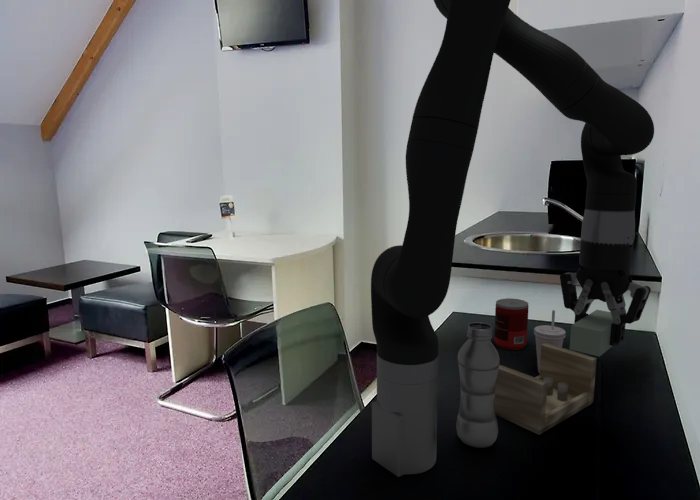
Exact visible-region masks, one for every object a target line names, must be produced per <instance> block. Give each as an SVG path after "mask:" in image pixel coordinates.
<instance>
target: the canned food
mask: <svg viewBox="0 0 700 500" xmlns="http://www.w3.org/2000/svg"><path fill="white" fill-rule="evenodd" d="M494 309H495V313H494V337H493V338H494V340H493V341H494V344H495V345H494V346H496V347H498V348H500V349H502V350H507V351H519V350H522V349H525V348H526V345H527V343H528V342H527V341H528V327H529V326H528V324H529V323H528V322H529V302H528V301H526V300H524V299H520V298H511V297H510V298H508V297H507V298H500V299H497V300H496V301H495V308H494Z"/></svg>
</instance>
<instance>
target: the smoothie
mask: <svg viewBox="0 0 700 500" xmlns="http://www.w3.org/2000/svg"><path fill="white" fill-rule="evenodd" d="M555 314H556V310H554V309H553V310H552V311H551V325H544V324H543V325H538V326H537V325H536V326H535V327H534V329H533V334H534V337H535V346H536V358H537V360H536V361H537V362H536V363H537V372H538V373H539V374H540V359H541V345H542V344H544V343H548V344H551V345H555V346H558V347H561V348H563V343H564V339H565V338H566V333H567V332H566V330H565V329H564V328H562V327H559V326H555V318H556V315H555Z"/></svg>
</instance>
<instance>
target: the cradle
mask: <svg viewBox="0 0 700 500" xmlns="http://www.w3.org/2000/svg"><path fill="white" fill-rule="evenodd" d="M597 359H598V358H597V357H594V356H592V355H591V356H590V355H589V354H585V353H582V352H578V351H574V350H570V349H568V348H564V347H562V348H561V347H558V346H555V345H551V344H548V343H544V344H542V345H541V359H540V373H539V374H538V375H537V376H535V377H534V376H532V375H529V374H527V373H523V372H520V371H519V370H517V369H512V368H510V367H508V366H505V365H502V364H499V370H498V375H497V380H496V390H495V411H496V417H497V416H498V417H500V418H502V419H503V420H507V421H509V422H510V423H512V424H515V425H517V426H519V427H521V428H523V429H526V430H528V431H530V432H531V433H535V434H536V435H538V436H539V435H541V434H543V433H545V432H547V431H548V430H550V429H552V428H553V427H555V426H556V425H558V424H561V422H563V421H565V420H567V419H568V418H570V417H572V416H573V415H575V414H577V413H579V412H581V411H582V410H584V409H586V408H587V407H589V406H591V405H592V404H594V396H595V394H594V393H595V384H596V383H595V382H596V371H597V369H596V368H597Z"/></svg>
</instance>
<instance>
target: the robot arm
mask: <svg viewBox="0 0 700 500" xmlns="http://www.w3.org/2000/svg"><path fill="white" fill-rule="evenodd" d="M433 2H434V4H435V7H436V9H437V10H438V11H439V13H440V14H441V15H442V16H443V17H444V18H445V19H446V23H445V28H444V29H445V30H444V33H443V37H442V41H441V44H440V47H439V50H438V53H437V55H436V57H435V59H434V62H433V63H432V66H431V67H430V70H429V71H428V75H427V76H426V78H425V82H423V83H424V84H423V85H422V88H421V90H420V92H419V94H418V95H419V96H418V98H417V101H416V104H415V107H414V110H413V114H412V119H411V122H410V123H411V124H410V128H409V133H408V138H407V143H406V150H405V173H406V183H407V191H408V193H407V194H408V204H409V205H408V217H407V218H408V219H407V222H406V223H407V224H406V229H405V231H404V232H405V233H404V237H403V241H402V244H400V245H394V246H391V247H388V248H387V249H385V250H384V251H382V252H381V254H379V255H378V257H377V258H376V259H375V262H374V264H373V266H372V270H371V276H370V300H371V301H370V302H371V322H372V323H371V324H372V325H371V326H372V331H373V335H374V339H375V342H376V343H375V344H376V400H374V401H373V402H372V403H371V459H372V460H373V461H374V462H376V463H378V464H379V465H380V466H382V467H383V468H385V469H386V470H387V471H389V472H390V473H392V474H393V475H395V476H396V477H398V478H400V477H402V476H404V475H418V474H423V473H425V472H427V471H429V470H431V469H432V468H433V467H434V466H435V464H436V463H437V445H438V444H437V441H438V437H437V434H438V432H437V431H438V384H439V383H438V380H439V379H438V378H439V377H438V375H439V373H438V372H439V337H438V335H437V333H436V331H435V329H434V328H433V326H432V323H431V320H430V315H432V314H434V313H435V312H436V311H437V310H438V309H439V308H440V307H441V305H442V304H443V302H444V301H445V299H446V296H447V294H448V291H449V287H450V282H451V277H452V268H453V258H454V251H455V241H456V240H455V238H456V232H457V227H458V226H457V225H458V218H459V216H460V210H461V206H462V202H463V197H464V193H465V188H466V187H465V186H466V183H467V182H466V181H467V179H468V177H467V176H468V172H469V169H470V166H471V161H472V158H473V153H474V148H475V145H476V140H477V135H478V130H479V126H480V121H481V115H482V109H483V106H484V101H485V97H486V92H487V89H488V88H487V87H488V82H489V78H490V77H489V76H490V73H491V69H492V62H493V60H494V59H493V57H494V54H495V55H496V56H498V57H499V58H501V59H502V60H503V61H504V62H505V63H507V64H508V65H510V67H512V68H513V69H514V70H516V71H517V72H518V73H519V74H520V75H521V76H523V78H525V79H526V80H527V81H529V83H530V84H531V85H533V86H534V88H536V89H537V90H538V92H539V93H540V94H541V95H543V96H544V97H545V99H547V101H549V102H550V104H551V105H553V106H554V107H555V109H557V110H558V112H559V113H561V114H562V115H563V116H564V117H565V118H567V119H569V120H573V121H579V122H582V123H584V126H583V128H582V131H581V136H580V152H581V157H582V158H581V159H582V164H583V170H584V173H585V179H586V193H585V203H584V204H585V206H584V214H583V217H582V220H581V221H582V222H581V234H580V243H579V244H580V245H579V258H578V264H579V268H578V269H577V271H576V272H572V271H568V272H564V273H561V274H560V275H559V281H560V287H561V293H562V294H561V295H562V301H563V305H564V308H566V309H569V310H571V311H572V312H573V314H574V323H576V322H577V321H579V320H581V319H582V318H584V317H586V316H587V315H589V313H587V312H588V311H589V309H590V308H591V305H592V303H594V301H595V300H599V301H600V302H603V303H606V306H607V310H608V311H609V312H611V316H612V319H613V322H614V323H612V324H611V334H610V345H611V346H612V347H617V346H619V345H620V344H622V343H623V342H624V341H625V332H626V324H629V325H631V324H633V323H634V322H638V321H639V320H640V319H641V316H642V314H643V311H644V309H645V306H646V304H647V301H648V299H649V296H650V294H651V290H652V289H651V287H650V286H648V285H644V286H643V285H641V284H638V283H635V282H634V281H633V279H632V276H631V269H632V261H633V253H634V252H633V251H634V242H635V238H636V232H635V231H636V216H635V212H636V211H635V210H636V203H637V190H638V181H637V180H638V179H637V176H636V175H635V174H633V173H631V172H629V171H626V170H625V169H624V167H623V163H622V156H632V155H636V154H639V153H642V151H645V150H646V149H647V148H648V147H649V146H650V144H651V143H652V142H653V139H654V136H655V126H654V125H655V124H654V121H653V118H652V116H651V114H650V113H649V112H648V110H647V109H646V108H645V107H644V106H643V105H642V104H640V103H639V102H638V101H636V100H635V99H633V98H632V97H630V96H629V95H628V94H626V93H625V92H623V91H622V90H620V89H618V88H616V86H613V85H611V84H609V83H608V82H606V81H605V80H603V78H602V77H601V76H600V75H599V73H597V72H596V71H595V69H593V67H591V65H589V63H588V62H587V61H586V60H585V59H584V58H583V57H582V56H581V55H580V54H579V53H578V52H576V51H575V50H574V49H573V48H572V47H570V46H569V45H567V44H565V43H564V42H563V41H561V40H559V39H557V38H556V37H553V36H552V35H549V34H547V33H545V32H544V31H542V30H539V29H538V28H536V27H534V26H533V25H530V24H529V23H528V22H526V21H525V20H523V19H522V18H521V17H519V16H518V15H517V14H516V13H514V12H513V11H512V10H511V9H510V7H509V6H510V3H511V0H433ZM577 284H579V285H580V287H581V289H582V290H581V292H580V293H579V296H578V292H577V286H576V285H577ZM628 290H629V291H630V293H629V296H630V298H631V301H630V304H629V306H628V310H627V309H626V300H625V296H624V294H625V293H626V292H627V291H628ZM574 323H573V324H574Z"/></svg>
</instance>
